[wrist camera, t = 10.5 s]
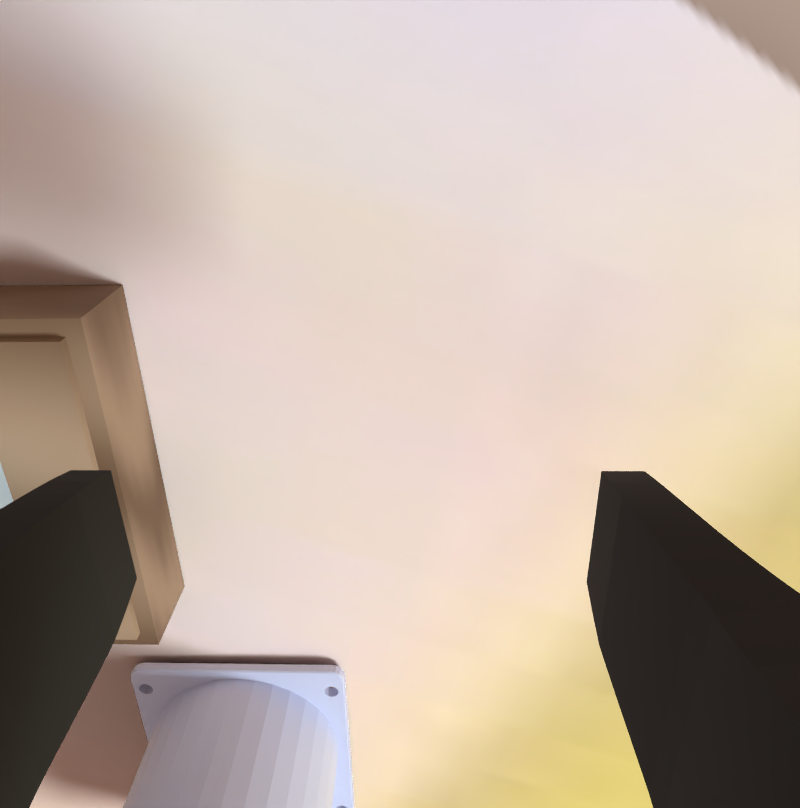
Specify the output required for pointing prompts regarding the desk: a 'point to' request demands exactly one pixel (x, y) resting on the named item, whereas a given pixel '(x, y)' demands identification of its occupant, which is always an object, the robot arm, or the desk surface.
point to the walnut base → (88, 425)
